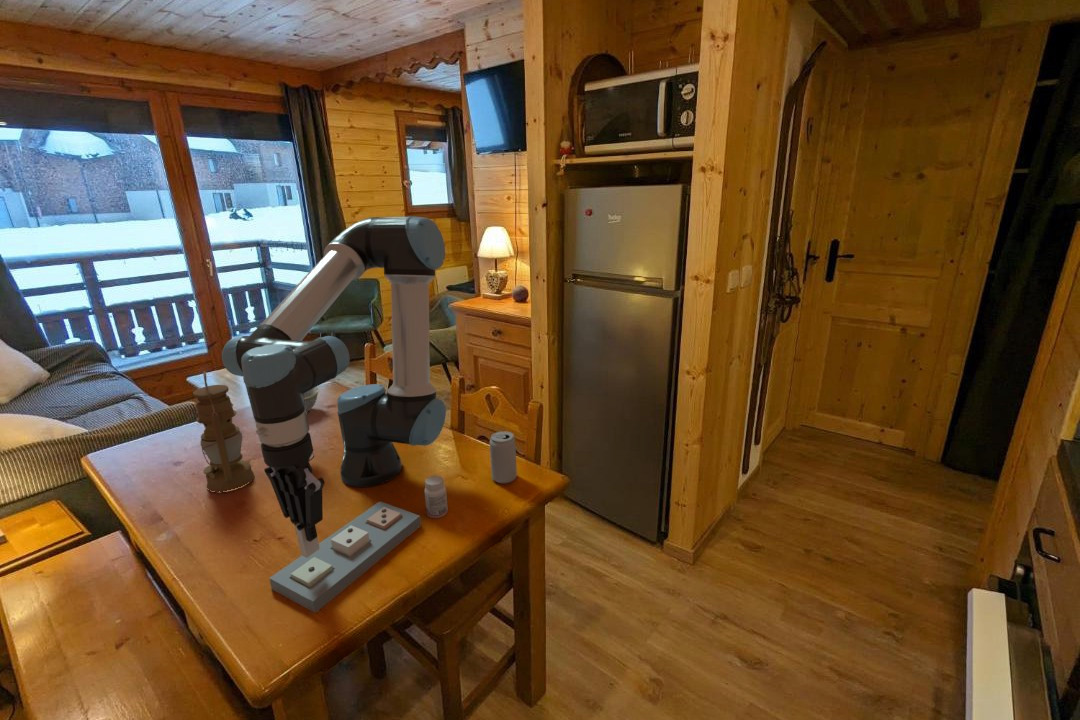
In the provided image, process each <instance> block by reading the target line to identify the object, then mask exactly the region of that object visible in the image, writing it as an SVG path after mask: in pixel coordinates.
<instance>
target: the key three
mask: <svg viewBox="0 0 1080 720" xmlns="http://www.w3.org/2000/svg"><path fill="white" fill-rule="evenodd" d="M400 518H401V513H399V512H396V511H394V510H391V509H388V508H385V507H383V508H382V509H381V510H379V511H378V512H376V513H375V514H374V515H372V516H371V517H369V518H368V519H367V524H369V525H371V526H374V527H376V528H379V529H381V530H384V531H385V530H386V529H387V528H388V527H390V526H391V525H392V524H394V523H395V522H396V521H398V520H399V519H400Z"/></svg>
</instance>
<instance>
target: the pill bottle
mask: <svg viewBox="0 0 1080 720" xmlns="http://www.w3.org/2000/svg"><path fill="white" fill-rule="evenodd" d="M424 483H425V484H424V485H425V487H424V499H425V501H424V502H425V509H426V514H427V516H428V517H430V518H435V519H437V518H441V517H444V516H445V515H446V514H448V511H449V507H448V498H447V487H446V485H445V481H444V477H442V476H441V475H438V474H437V475H436V474H435V475H431V476H428V477H427V478H426V479H425V480H424Z"/></svg>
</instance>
